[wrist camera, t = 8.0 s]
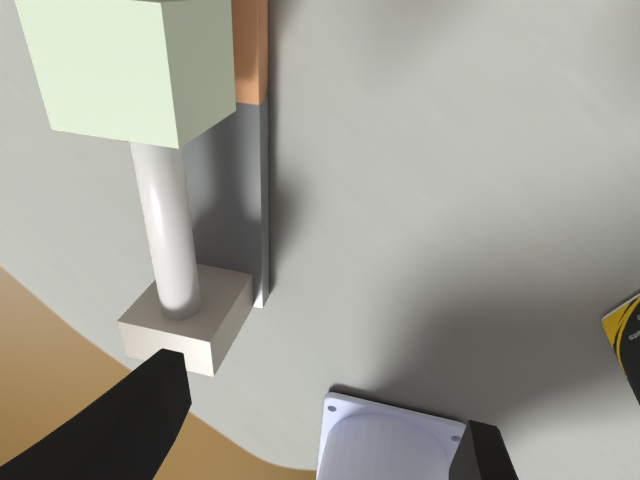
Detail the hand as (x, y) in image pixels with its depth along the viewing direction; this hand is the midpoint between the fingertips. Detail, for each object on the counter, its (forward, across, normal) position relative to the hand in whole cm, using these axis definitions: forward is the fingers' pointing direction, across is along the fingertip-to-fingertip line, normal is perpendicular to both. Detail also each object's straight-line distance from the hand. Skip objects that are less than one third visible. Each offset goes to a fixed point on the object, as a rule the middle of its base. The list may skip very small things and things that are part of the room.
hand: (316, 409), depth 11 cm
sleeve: (+7, +7, -7) cm, 12 cm away
